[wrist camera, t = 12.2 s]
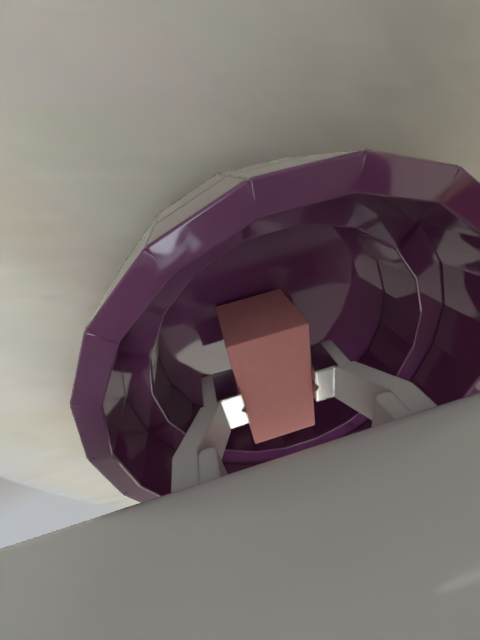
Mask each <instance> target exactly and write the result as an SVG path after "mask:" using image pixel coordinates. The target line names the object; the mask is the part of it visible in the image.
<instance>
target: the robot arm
mask: <svg viewBox="0 0 480 640" xmlns="http://www.w3.org/2000/svg"><path fill="white" fill-rule="evenodd" d="M310 352H311V378H312V395H313V397H314V399H315V400H316V402H318V401H322V400H325V399H329V398H332V397H335V398H336V399H338V400H340V401H341V402H343V403H345V404H346V405H348V406H350V407H351V408H353V409H354V410H356V411H358V412H359V413H361V414H363V415H364V416H366V417H367V418H369V419H371V420H372V427H371V428H368V429H365V430H362V431H359V432H356V433H353V434H350V435H347V436H344V437H341V438H338V439H335V440H332V441H329V442H326V443H323V444H320V445H317V446H314V447H311V448H307V449H304V450H301V451H298V452H295V453H292V454H289V455H286V456H283V457H280V458H277V459H274V460H271V461H268V462H264V463H261V464H258V465H255V466H252V467H249V468H246V469H243V470H240V471H237V472H234V473H231V474H227V471H226V469H225V467H224V465H223V462H222V457H223V454H224V451H225V448H226V445H227V442H228V439H229V436H230V433H231V429H234V428H237V427H239V426H242V425H245V424H248V423H250V422H249V419H248V415H247V411H246V408H245V405H244V401H243V397H242V394H241V391H240V388H239V387H238V386H237V383H236V380H235V377H234V373H233V370H232V369H230V370H226V371H222V372H219V373H215V374H213V375H209V376H205V377H202V378H201V385H202V395H203V405H204V407H202V408H200V410H199V411H198V413H197V415H196V417H195V418H194V420H193V422H192V424H191V426H190V427H189V429H188V431H187V433H186V434H185V436H184V438H183V440H182V442H181V443H180V445H179V447H178V449H177V451H176V452H175V454H174V456H173V458H172V482H171V493H170V494H167V495H163V496H160V497H157V498H154V499H151V500H148V501H145V502H142V503H139V504H136V505H133V506H130V507H127V508H124V509H121V510H118V511H114V512H112V513H109V514H106V515H102V516H99V517H96V518H93V519H90V520H87V521H84V522H81V523H78V524H75V525H72V526H69V527H66V528H63V529H59V530H56V531H53V532H50V533H47V534H44V535H41V536H38V537H35V538H32V539H29V540H26V541H23V542H20V543H17V544H14V545H11V546H7V547H4V548H1V549H0V640H480V392H479V393H476V394H472V395H469V396H466V397H463V398H460V399H457V400H454V401H451V402H448V403H445V404H442V405H439V406H437V405H436V404H435V403H434V402H433V401H432V400H431V399H430V398H429V397H427V396H426V395H425V394H424V393H423V392H422V391H421V390H420V389H419V388H418V387H417V386H416V385H414V384H413V383H412V382H410V381H407V380H404V379H402V378H399V377H396V376H393V375H391V374H388V373H385V372H383V371H380V370H377V369H375V368H372V367H369V366H366V365H364V364H361V363H358V362H356V361H352V362H351V361H350V360H349V359H348V358H347V357H346V356H345V355H344V354H343V353H342V351H341V350H340V349H339V348H338V347H337V346H336V345H335V344H334V343H333V341H332V340H330V339H329V340H326V341H322V342H319V343H316V344H313V345H310Z"/></svg>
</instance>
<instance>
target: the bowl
mask: <svg viewBox="0 0 480 640" xmlns="http://www.w3.org/2000/svg"><path fill="white" fill-rule="evenodd" d="M277 289H281V291H282V292H283V293H284V294H285V295H286V297H287V298H288V299H289V300H290V301H291V303H292V304H293V305H294V306H295V308H296V309H297V310H298V311H299V312H300V314H301V315H302V316H303V317H304V318H305V320H306V321H307V322H308V323H309V336H310V345H313V344H316V343H319V342H322V341H326V340H329V339H330V340H332V341H333V343H334V344H335V345H336V346H337V347H338V348H339V349H340V350H341V351H342V353H343V354H344V355H345V356H346V357H347V358H348V359H349V360H350V361H351V362H352V361H356V362H358V363H361V364H364V365H366V366H369V367H372V368H375V369H377V370H380V371H383V372H385V373H388V374H391V375H393V376H396V377H399V378H402V379H404V380H407V381H410V382H412V383H413V384H414V385H416V386H417V387H418V388H419V389H420V390H421V391H422V392H423V393H424V394H425V395H426V396H427V397H429V398H430V399H431V400H432V401H433V402H434V403H435V404H436V405H437V406H439V405H442V404H445V403H448V402H451V401H454V400H457V399H460V398H463V397H466V396H469V395H472V394H476V393H479V392H480V183H479V182H478V181H477V180H476V179H475V178H474V177H472V176H471V175H470V174H469V173H468V172H467V171H466V170H464V169H463V168H462V167H459V166H458V165H455V164H449V163H444V162H438V161H432V160H426V159H420V158H415V157H409V156H403V155H397V154H392V153H386V152H380V151H374V150H369V149H365V150H354V151H344V152H334V153H324V154H315V155H304V156H294V157H285V158H280V159H275V160H271V161H267V162H263V163H259V164H255V165H251V166H247V167H243V168H238V169H234V170H230V171H226V172H222V173H219V174H218V175H215V176H213V177H212V178H210V179H209V180H207V181H206V182H204V183H203V184H201V185H200V186H199V187H197V188H196V189H194V190H193V191H191V192H190V193H188V194H187V195H185V196H184V197H182V198H181V199H179V200H178V201H176V202H175V203H174V204H172V205H171V206H169V207H168V208H166V209H165V210H163V211H162V212H161V213H160V215H157V217H156V218H155V220H154V221H153V223H152V224H151V225H150V227H149V228H148V230H147V231H146V232H145V234H144V235H143V237H142V238H141V239H140V241H139V242H138V244H137V245H136V247H135V248H134V249H133V251H132V252H131V254H130V255H129V256H128V258H127V259H126V261H125V262H124V264H123V265H122V267H121V268H120V270H119V272H118V274H117V275H116V277H115V279H114V281H113V282H112V284H111V286H110V288H109V289H108V291H107V292H106V294H105V296H104V297H103V299H102V301H101V303H100V304H99V306H98V308H97V309H96V311H95V313H94V315H93V316H92V318H91V320H90V321H89V323H88V325H87V327H86V328H85V331H84V333H83V338H82V344H81V349H80V354H79V359H78V364H77V369H76V374H75V379H74V384H73V389H72V394H71V399H70V407H71V411H72V414H73V417H74V420H75V423H76V426H77V429H78V432H79V436H80V439H81V442H82V445H83V448H84V451H85V454H86V457H87V459H88V460H89V462H90V463H91V464H92V465H93V466H94V467H95V468H96V469H97V470H98V471H99V472H100V473H101V474H102V475H103V476H104V477H105V478H106V479H108V480H109V481H110V482H111V483H112V484H113V485H114V486H115V487H116V488H117V489H118V490H119V491H120V492H121V493H123V495H125V496H127V497H129V498H132V499H134V500H136V501H138V502H141V503H142V502H145V501H148V500H151V499H154V498H157V497H160V496H163V495H167V494H170V493H171V482H172V458H173V456H174V454H175V452H176V451H177V449H178V447H179V445H180V443H181V442H182V440H183V438H184V436H185V434H186V433H187V431H188V429H189V427H190V426H191V424H192V422H193V420H194V418H195V417H196V415H197V413H198V411H199V410H200V408H202V407H204V405H203V395H202V385H201V378H202V377H205V376H209V375H213V374H215V373H219V372H222V371H226V370H230V369H232V367H231V363H230V360H229V357H228V354H227V350H226V347H225V343H224V339H223V335H222V331H221V327H220V323H219V320H218V316H217V312H216V307H217V306H221V305H224V304H228V303H231V302H235V301H238V300H242V299H245V298H249V297H253V296H256V295H260V294H263V293H267V292H270V291H274V290H277ZM313 400H314V416H315V425H313V426H310V427H307V428H304V429H301V430H298V431H294V432H291V433H288V434H285V435H282V436H279V437H276V438H273V439H270V440H267V441H263V442H260V443H257V444H255V442H254V439H253V436H252V432H251V429H250V426H249V423H248V424H245V425H242V426H239V427H237V428H234V429H231V433H230V436H229V439H228V442H227V445H226V448H225V451H224V454H223V457H222V462H223V465H224V467H225V469H226V471H227V474H231V473H234V472H237V471H240V470H243V469H246V468H249V467H252V466H255V465H258V464H261V463H264V462H268V461H271V460H274V459H277V458H280V457H283V456H286V455H289V454H292V453H295V452H298V451H301V450H304V449H307V448H311V447H314V446H317V445H320V444H323V443H326V442H329V441H332V440H335V439H338V438H341V437H344V436H347V435H350V434H353V433H356V432H359V431H362V430H365V429H368V428H371V427H372V420H371V419H369V418H367V417H366V416H364V415H363V414H361V413H359V412H358V411H356V410H354V409H353V408H351V407H350V406H348V405H346V404H345V403H343V402H341V401H340V400H338V399H336V398H335V397H332V398H329V399H325V400H322V401H318V402H316V400H315V399H314V397H313Z"/></svg>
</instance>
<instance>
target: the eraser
mask: <svg viewBox="0 0 480 640" xmlns="http://www.w3.org/2000/svg"><path fill="white" fill-rule="evenodd" d="M216 312H217V316H218V320H219V323H220V327H221V331H222V335H223V339H224V343H225V347H226V350H227V354H228V357H229V360H230V363H231V367H232V370H233V373H234V377H235V380H236V383H237V386H238V387H239V388H240V391H241V394H242V397H243V401H244V405H245V408H246V411H247V415H248V419H249V422H250V423H249V426H250V429H251V432H252V436H253V439H254V442H255V444H257V443H260V442H263V441H267V440H270V439H273V438H276V437H279V436H282V435H285V434H288V433H291V432H294V431H298V430H301V429H304V428H307V427H310V426H313V425H315V416H314V400H313V395H312V378H311V352H310V336H309V323H308V322H307V321H306V320H305V318H304V317H303V316H302V315H301V314H300V312H299V311H298V310H297V309H296V308H295V306H294V305H293V304H292V303H291V301H290V300H289V299H288V298H287V297H286V295H285V294H284V293H283V292H282V291H281V289H277V290H274V291H270V292H267V293H263V294H260V295H256V296H253V297H249V298H245V299H242V300H238V301H235V302H231V303H228V304H224V305H221V306H217V307H216Z"/></svg>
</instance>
